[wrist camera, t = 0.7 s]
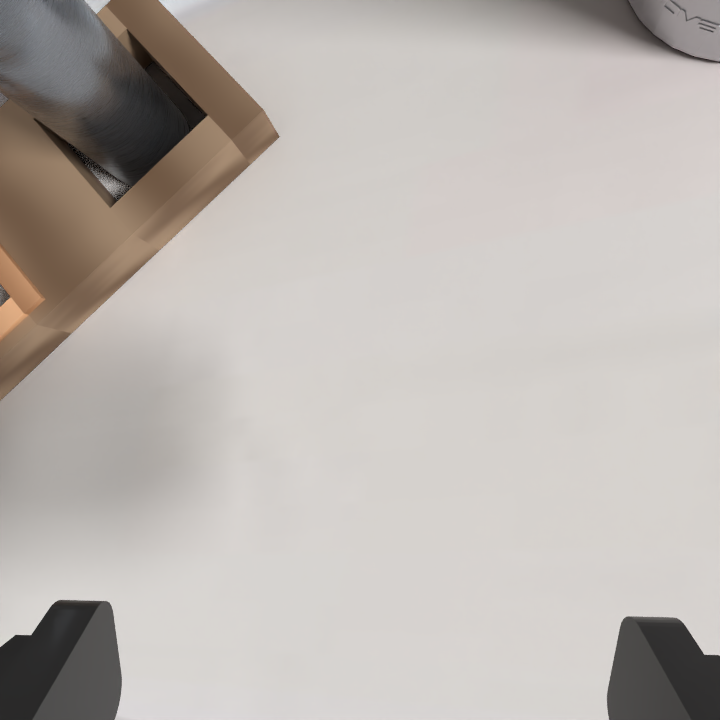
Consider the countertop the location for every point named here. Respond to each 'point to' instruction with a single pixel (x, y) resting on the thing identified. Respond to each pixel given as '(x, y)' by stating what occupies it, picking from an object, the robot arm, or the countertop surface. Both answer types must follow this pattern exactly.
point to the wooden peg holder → (94, 202)
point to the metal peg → (86, 86)
